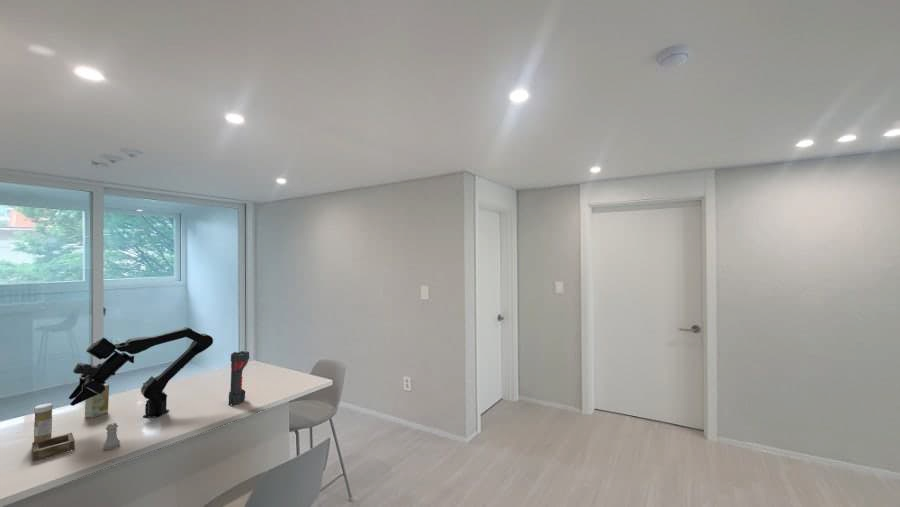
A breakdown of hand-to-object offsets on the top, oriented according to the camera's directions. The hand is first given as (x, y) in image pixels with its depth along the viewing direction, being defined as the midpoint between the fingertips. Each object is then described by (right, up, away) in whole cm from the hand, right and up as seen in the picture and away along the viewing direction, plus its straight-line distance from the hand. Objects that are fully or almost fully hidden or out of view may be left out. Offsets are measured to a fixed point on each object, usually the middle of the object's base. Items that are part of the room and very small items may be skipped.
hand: (70, 401), depth 138 cm
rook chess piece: (+24, -13, -9) cm, 28 cm away
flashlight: (+45, -14, +33) cm, 57 cm away
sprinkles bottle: (-4, -13, -5) cm, 15 cm away
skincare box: (-8, -13, +19) cm, 24 cm away
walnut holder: (+6, -13, -11) cm, 18 cm away
